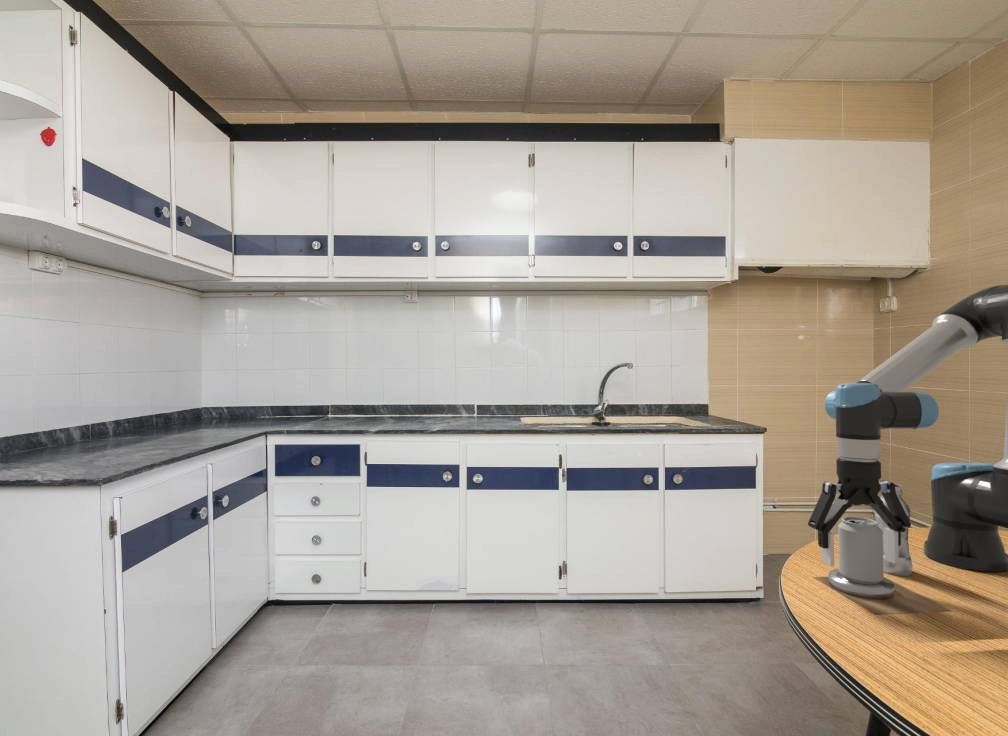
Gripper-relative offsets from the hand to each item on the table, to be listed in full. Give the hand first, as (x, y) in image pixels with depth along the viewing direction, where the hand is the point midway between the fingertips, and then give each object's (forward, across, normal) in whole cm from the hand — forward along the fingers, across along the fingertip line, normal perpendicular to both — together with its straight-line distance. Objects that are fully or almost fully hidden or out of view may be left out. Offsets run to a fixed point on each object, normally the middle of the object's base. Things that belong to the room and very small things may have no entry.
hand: (859, 562), depth 104 cm
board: (+6, -2, +2) cm, 7 cm away
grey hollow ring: (+5, 0, 0) cm, 5 cm away
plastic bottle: (+7, -14, -8) cm, 17 cm away
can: (+3, 0, 0) cm, 3 cm away
